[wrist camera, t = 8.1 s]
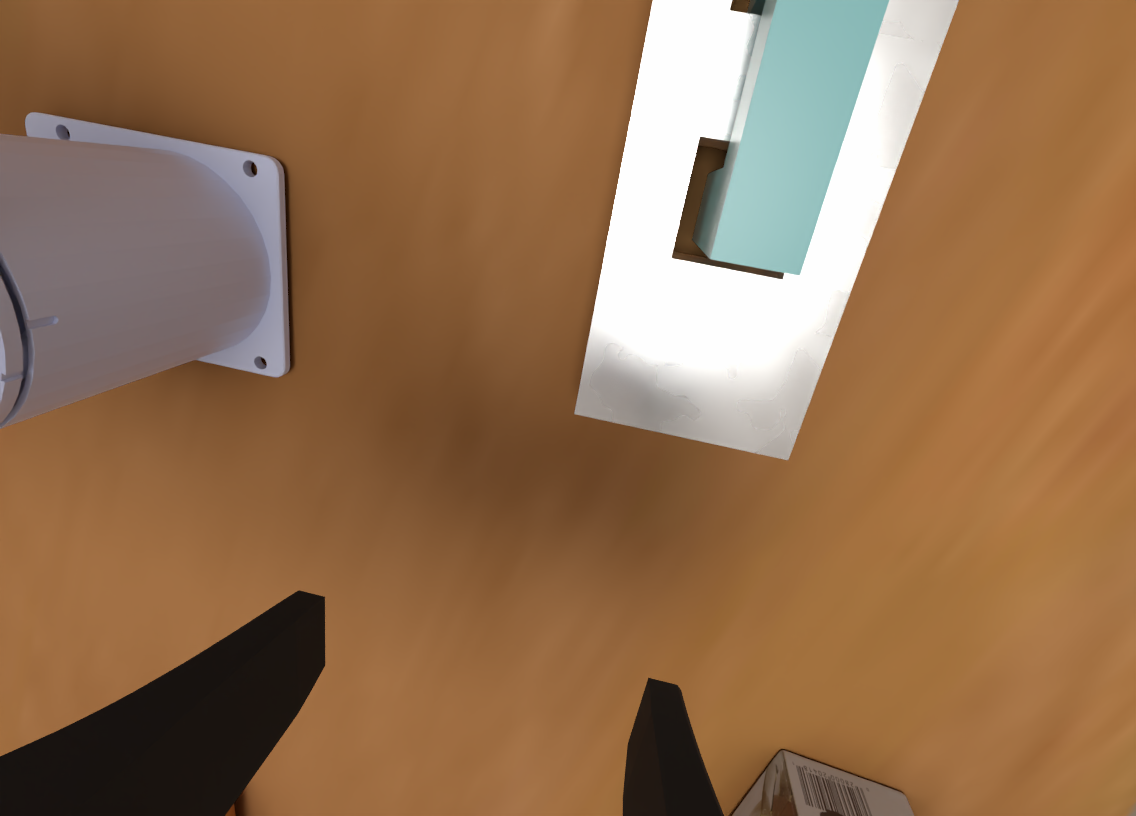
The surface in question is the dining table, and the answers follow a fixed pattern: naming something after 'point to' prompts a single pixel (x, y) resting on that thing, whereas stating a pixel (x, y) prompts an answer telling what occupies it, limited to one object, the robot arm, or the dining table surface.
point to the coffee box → (818, 792)
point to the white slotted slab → (725, 290)
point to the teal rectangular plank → (787, 131)
